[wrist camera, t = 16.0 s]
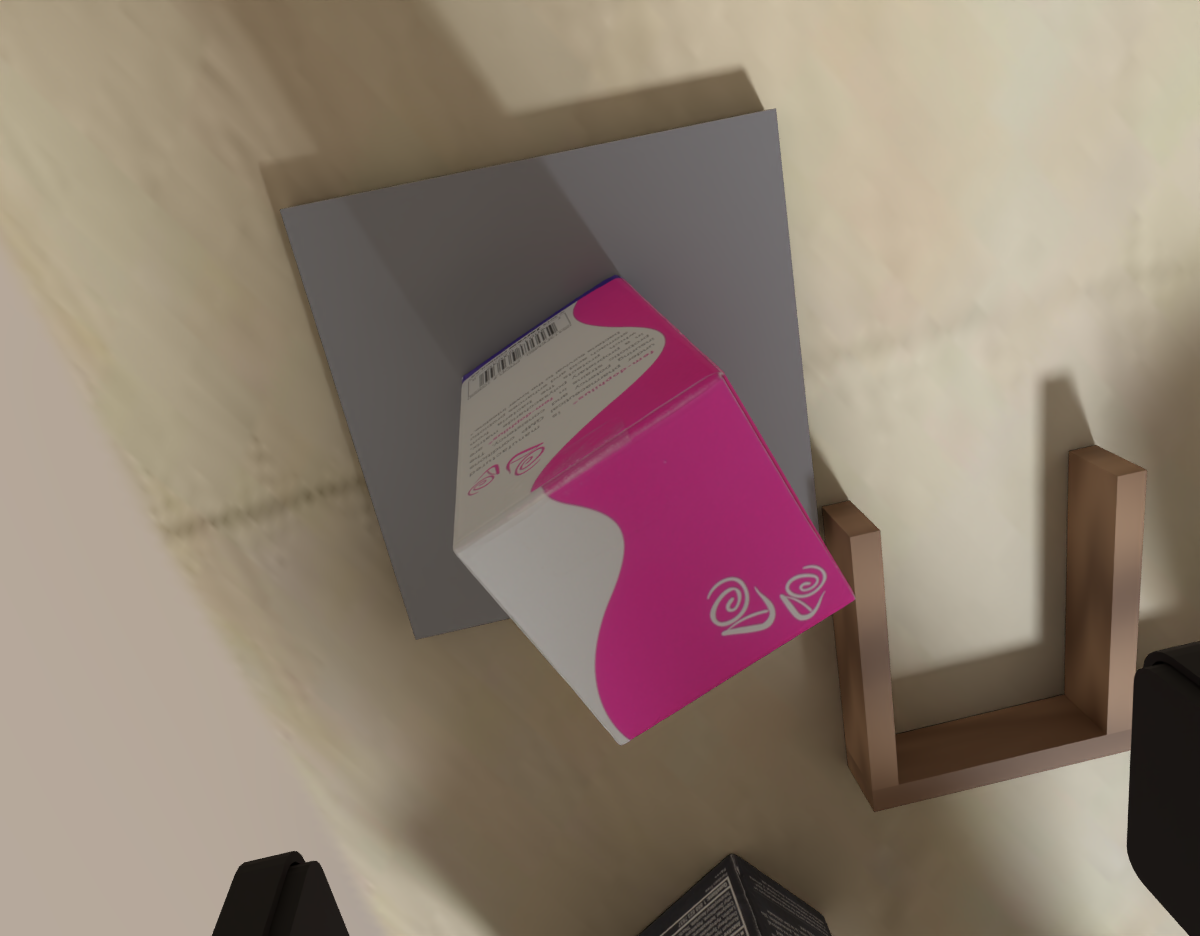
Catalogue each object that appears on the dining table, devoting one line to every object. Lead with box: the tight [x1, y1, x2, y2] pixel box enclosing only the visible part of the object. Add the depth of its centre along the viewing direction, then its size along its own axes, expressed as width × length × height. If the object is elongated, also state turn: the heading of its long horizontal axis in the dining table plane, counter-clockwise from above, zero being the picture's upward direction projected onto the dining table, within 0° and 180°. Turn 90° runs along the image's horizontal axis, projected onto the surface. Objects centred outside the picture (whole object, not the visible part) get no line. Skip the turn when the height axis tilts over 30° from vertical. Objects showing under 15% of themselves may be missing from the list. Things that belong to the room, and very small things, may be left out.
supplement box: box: [453, 275, 856, 745], centre depth 21 cm, size 6×6×12 cm
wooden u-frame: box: [822, 445, 1147, 812], centre depth 31 cm, size 12×19×2 cm, turn 100°
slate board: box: [280, 108, 820, 640], centre depth 26 cm, size 14×14×1 cm
